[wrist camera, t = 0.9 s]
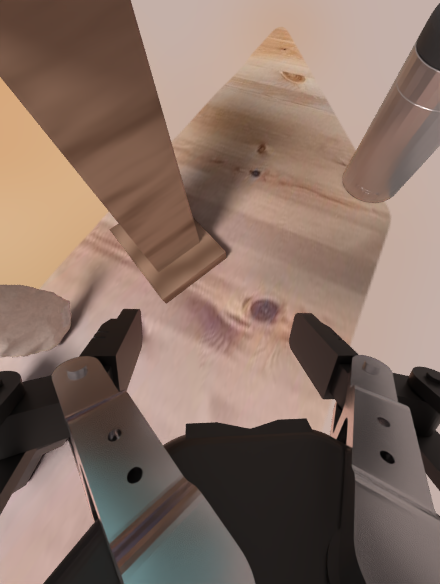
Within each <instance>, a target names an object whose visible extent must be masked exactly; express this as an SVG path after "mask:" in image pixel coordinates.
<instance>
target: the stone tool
mask: <svg viewBox="0 0 440 584" xmlns="http://www.w3.org/2000/svg"><path fill="white" fill-rule="evenodd" d="M71 316H72V314H71V312H70V301H68V300H65V299H63V298H62V297H60V296H58V295H56V294H55V293H53V292H48V291H45V290H39V289H36V288H33V287H28V286H23V285H0V357H6V356H9V357H12V358H13V357H14V358H15V357H19V356H23V357H25V356H28V355H31V354H36V353H39V352H41V351H48V350H51V349H53V348H54V347H56V346H57V345H58V344H59V343H60V341H61V340H62V338H63V336H65V334H66V333H67V332H68V330H69V329H70V327H71Z"/></svg>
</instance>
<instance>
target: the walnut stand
mask: <svg viewBox="0 0 440 584" xmlns="http://www.w3.org/2000/svg"><path fill="white" fill-rule="evenodd" d="M0 77H1V78H2V79H3V81H4V82H5V83H6V84H7V86H8V87H9V88H10V89H11V90H12V92H13V93H14V94H15V95H16V97H17V98H18V99H19V100H20V102H21V103H22V104H23V105H24V107H25V108H26V109H27V110H28V111H29V113H30V114H31V115H32V116H33V118H34V119H35V120H36V121H37V123H38V124H39V125H40V126H41V128H42V129H43V130H44V131H45V133H46V134H47V135H48V136H49V138H50V139H51V140H52V141H53V142H54V144H55V145H56V146H57V147H58V148H59V150H60V151H61V152H62V154H63V155H64V156H65V157H66V159H67V160H68V161H69V162H70V164H71V165H72V166H73V167H74V168H75V170H76V171H77V172H78V173H79V175H80V176H81V177H82V178H83V180H84V181H85V182H86V183H87V185H88V186H89V187H90V188H91V189H92V191H93V192H94V193H95V194H96V196H97V197H98V198H99V199H100V201H101V202H102V203H103V204H104V206H105V207H106V208H107V209H108V211H109V212H110V213H111V214H112V216H113V217H114V218H115V219H116V221H117V222H118V223H119V224H117V225H116V226H114V227H113V228H111V229H110V231H111V232H112V233H113V235H114V236H115V237H116V239H117V240H118V241H119V243H120V244H121V245H122V247H123V248H124V249H125V251H126V252H127V253H128V255H129V256H130V257H131V259H132V260H133V261H134V263H135V264H136V265H137V267H138V268H139V269H140V271H141V272H142V273H143V275H144V276H145V277H146V279H147V280H148V281H149V283H150V284H151V285H152V287H153V288H154V289H155V291H156V292H157V293H158V295H159V296H160V297H161V299H162V300H163V301H164V302H165V303H168V302H169V301H170V300H172V299H173V298H174V297H176V296H177V295H178V294H180V293H181V292H182V291H183V290H185V289H186V288H187V287H189V286H190V285H191V284H193V283H194V282H195V281H197V280H198V279H199V278H201V277H202V276H203V275H205V274H206V273H207V272H208V271H210V270H211V269H212V268H214V267H215V266H216V265H218V264H219V263H220V262H222V261H223V260H224V259H226V252H225V251H224V250H223V249H222V247H221V246H220V245H219V244H218V243H217V242H216V241H215V240H214V239H213V238H212V237H211V236H210V235H209V234H208V233H207V232H206V231H205V229H204V228H203V227H202V226H201V225H200V224H199V223H198V222H197V221H196V220H195V219H194V218H193V216H192V213H191V209H190V206H189V202H188V199H187V195H186V192H185V188H184V185H183V182H182V178H181V175H180V171H179V168H178V164H177V161H176V157H175V154H174V150H173V147H172V143H171V140H170V136H169V133H168V130H167V126H166V122H165V119H164V115H163V112H162V108H161V105H160V101H159V98H158V95H157V91H156V87H155V84H154V80H153V77H152V73H151V70H150V66H149V63H148V60H147V56H146V52H145V49H144V45H143V42H142V38H141V35H140V31H139V28H138V24H137V21H136V17H135V14H134V10H133V7H132V4H131V0H0Z"/></svg>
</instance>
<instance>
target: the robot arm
mask: <svg viewBox="0 0 440 584" xmlns="http://www.w3.org/2000/svg"><path fill="white" fill-rule="evenodd" d="M439 146H440V3H439V5H438V6H437V7H436V8H435V10H434V11H433V13H432V14H431V16H430V18H429V19H428V21H427V23H426V25H425V27H424V28H423V30H422V32H421V34H420V36H419V38H418V40H417V41H416V43H415V45H414V47H413V48H412V50H411V52H410V54H409V56H408V57H407V59H406V61H405V63H404V65H403V67H402V68H401V70H400V72H399V74H398V76H397V78H396V80H395V81H394V83H393V85H392V87H391V89H390V90H389V92H388V94H387V96H386V98H385V99H384V101H383V103H382V105H381V107H380V108H379V110H378V112H377V114H376V116H375V118H374V119H373V121H372V123H371V125H370V127H369V128H368V130H367V132H366V134H365V136H364V138H363V139H362V141H361V143H360V145H359V147H358V148H357V150H356V152H355V154H354V155H353V157H352V159H351V161H350V163H349V165H348V166H347V168H346V170H345V172H344V174H343V184H344V187H345V188H346V190H347V191H348V192H349V193H350V194H351V195H352V196H354V197H355V198H357V199H359V200H362V201H366V202H372V203H374V202H383V201H386V200H388V199H390V198H391V197H393V196H394V195H395V194H396V193H397V192H398V190H399V189H400V188H401V187H402V186H403V185H404V184H405V183H406V181H408V180H409V178H410V177H411V176H412V175H413V174H414V173H415V172H416V171H417V170H418V169H419V168H420V167H421V165H422V164H423V163H424V162H425V161H426V160H427V159H428V158H429V157H430V156H431V155H432V153H433V152H434V151H435V150H436V149H437V148H438V147H439ZM289 344H290V348H291V350H292V352H293V353H294V355H295V356H296V358H297V360H298V361H299V363H300V364H301V366H302V367H303V369H304V371H305V372H306V374H307V375H308V377H309V378H310V380H311V381H312V383H313V385H314V386H315V388H316V389H317V391H318V392H319V394H320V396H321V397H322V399H335V400H336V403H335V406H334V410H333V417H332V425H331V431H330V436H329V435H327V434H325V433H322V432H319V431H316V430H312V429H311V427H310V425H309V423H308V421H307V419H284V420H276V421H273V422H270V423H267V424H264V425H261V426H258V427H255V428H251V429H248V428H243V427H238V426H233V425H228V424H223V423H218V422H215V423H192V424H186V435H183V436H180V437H178V438H175V439H173V440H171V441H170V442H168V443H166V444H165V445H162V443H161V442H160V440H159V439H158V437H157V436H156V434H155V433H154V431H153V430H152V428H151V427H150V426H149V424H148V423H147V421H146V420H145V418H144V417H143V415H142V414H141V412H140V411H139V409H138V408H137V406H136V405H135V403H134V402H133V400H132V399H131V397H130V396H129V394H128V393H127V392H126V391H127V388H128V385H129V382H130V379H131V376H132V374H133V371H134V368H135V365H136V362H137V359H138V356H139V353H140V351H141V347H142V322H141V311H140V309H123V310H122V312H121V313H120V315H119V316H118V318H117V319H110V320H108V321H107V322H105V323H104V324H102V325H101V327H100V328H99V330H98V331H97V333H96V334H95V335H94V337H93V338H92V339H91V341H90V342H89V344H88V345H87V346H86V348H85V349H84V350H83V352H82V353H81V355H80V356H79V357H76V358H73V359H70V360H68V361H66V362H64V363H62V364H61V365H59V366H58V367H57V368H56V369H55V370H54V372H53V374H52V375H51V376H48V377H43V378H39V379H34V380H29V381H25V382H22V379H21V376H20V375H19V373H17V372H14V371H1V372H0V514H1V513H2V511H3V509H4V507H5V505H6V504H7V502H8V500H9V498H10V497H11V495H12V493H13V491H14V489H15V488H16V486H17V484H18V482H19V480H20V479H21V477H22V475H23V473H24V472H25V470H26V468H27V466H28V464H29V463H30V461H31V459H32V457H33V455H34V454H35V452H36V450H37V448H39V447H42V446H45V445H48V444H51V443H54V442H57V441H60V440H63V439H67V438H68V441H69V444H70V447H71V450H72V453H73V456H74V460H75V463H76V466H77V469H78V472H79V475H80V478H81V481H82V485H83V488H84V491H85V495H86V498H87V502H88V505H89V508H90V512H91V515H92V518H93V521H94V524H93V525H92V526H91V527H90V528H89V530H88V531H87V532H86V533H85V534H84V536H83V537H82V538H81V539H80V540H79V542H78V543H77V544H76V545H75V546H74V548H73V549H72V550H71V551H70V552H69V554H68V555H67V556H66V557H65V558H64V560H63V561H62V562H61V563H60V564H59V565H58V567H57V568H56V569H55V570H54V571H53V573H52V574H51V575H50V576H49V577H48V579H47V580H46V581H45V582H44V583H43V584H440V516H439V515H438V514H436V512H435V510H434V507H433V503H432V499H431V494H430V490H429V486H428V482H427V478H426V474H427V475H428V477H429V478H430V479H431V480H432V482H433V483H434V484H435V485H436V487H437V488H438V489H439V491H440V434H439V433H438V432H436V428H437V427H438V425H439V424H440V372H437V371H435V370H432V369H429V368H425V367H415V368H413V370H412V372H411V373H410V375H409V376H405V375H400V374H396V373H392V371H391V370H390V368H389V367H388V366H387V365H385V364H384V363H382V362H381V361H379V360H377V359H375V358H372V357H369V356H364V355H358V354H357V353H356V352H355V351H354V350H353V349H352V348H351V347H350V346H349V345H348V344H347V343H346V342H345V341H344V340H342V338H341V337H340V336H339V335H337V334H336V333H335V332H334V331H333V330H332V329H331V328H330V327H328V326H327V325H325V324H323V323H321V322H320V321H319V320H318V319H317V318H316V317H315V316H314V315H313V314H312V313H297V314H296V315H295V317H294V321H293V325H292V330H291V334H290V338H289Z"/></svg>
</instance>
